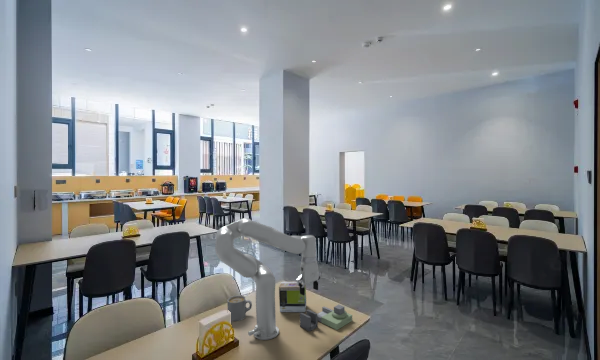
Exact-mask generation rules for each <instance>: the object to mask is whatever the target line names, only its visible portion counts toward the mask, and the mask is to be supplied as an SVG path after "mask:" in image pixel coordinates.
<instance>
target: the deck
mask: <svg viewBox="0 0 600 360" xmlns="http://www.w3.org/2000/svg"><path fill="white" fill-rule="evenodd" d="M321 310H322V311H320V312H318V313H317V317H318V323H321V324H322V325H323V324H324V326H325V325H326V326H328V327H330V328H332V329H334V330H335V331H338V330H339V329H341V328H342V327H344V326H346V325H348V324H349V323H351V322H352V321H353V314H351V313H348V312H347V311H346V310H345V306H343V305H341V304H336V305H335V306H333V309H332V308H329V307H326V306H322V309H321Z"/></svg>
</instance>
